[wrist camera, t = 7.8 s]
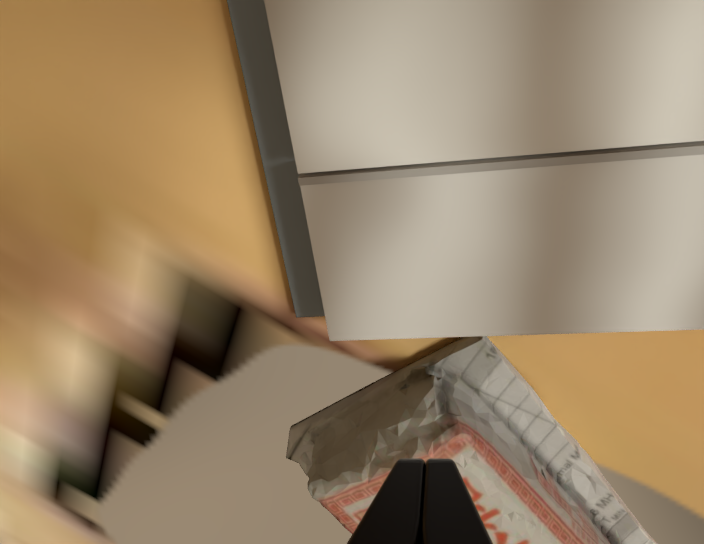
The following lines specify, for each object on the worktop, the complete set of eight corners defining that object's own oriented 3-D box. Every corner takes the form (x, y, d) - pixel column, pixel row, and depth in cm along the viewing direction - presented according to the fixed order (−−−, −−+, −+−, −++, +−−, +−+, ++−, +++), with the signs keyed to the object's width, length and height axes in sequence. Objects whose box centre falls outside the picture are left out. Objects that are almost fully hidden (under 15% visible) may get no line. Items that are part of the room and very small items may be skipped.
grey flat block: (888, 108, 17) (927, 127, 15) (833, 296, 20) (861, 326, 18) (307, 158, 20) (297, 178, 18) (336, 315, 23) (329, 342, 21)
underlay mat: (1216, -692, 10) (1235, -707, 10) (881, 289, 20) (887, 294, 19) (142, -405, 14) (136, -411, 13) (297, 312, 23) (296, 317, 23)
